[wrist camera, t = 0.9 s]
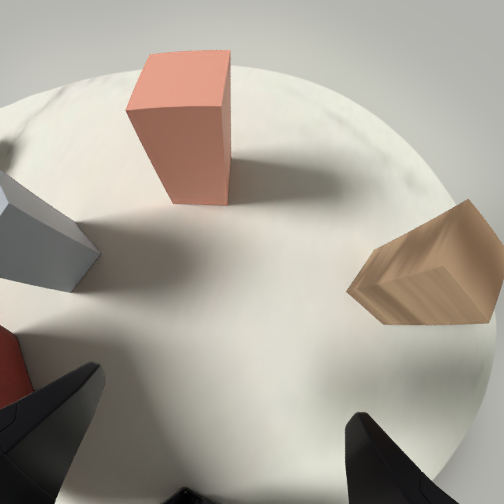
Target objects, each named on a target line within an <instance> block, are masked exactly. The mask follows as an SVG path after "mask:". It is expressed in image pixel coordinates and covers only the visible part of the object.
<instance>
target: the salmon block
mask: <svg viewBox="0 0 504 504" xmlns="http://www.w3.org/2000/svg"><path fill="white" fill-rule="evenodd" d="M125 111H126V113H127V115H128V117H129V119H130V121H131V123H132V125H133V127H134V129H135V131H136V133H137V135H138V137H139V139H140V141H141V143H142V145H143V147H144V149H145V151H146V153H147V155H148V157H149V159H150V161H151V163H152V165H153V167H154V169H155V171H156V173H157V175H158V176H159V178H160V180H161V182H162V184H163V186H164V188H165V190H166V192H167V194H168V195H169V197H170V199H171V201H172V203H173V204H203V205H227V204H228V191H229V179H230V167H231V93H230V50H203V51H182V52H170V53H169V52H168V53H159V54H150V55H149V57H148V59H147V61H146V63H145V66H144V68H143V70H142V72H141V74H140V76H139V79H138V81H137V83H136V86H135V88H134V90H133V93H132V95H131V98H130V100H129V103H128V105H127V108H126V110H125Z"/></svg>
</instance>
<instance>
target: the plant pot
mask: <svg viewBox="0 0 504 504" xmlns="http://www.w3.org/2000/svg"><path fill="white" fill-rule="evenodd" d="M33 392H34V391H33V388H32V385H31V383H30V380H29V377H28V374H27V371H26V368H25V364H24V361H23V358H22V354H21V351H20V347H19V343H18V340H17V338H16V336H15V335H14V334H13V333H11V332H10V331H9V330H7V329H6V328H4V327H2V326H1V325H0V409H2V408H4V407H6V406H8V405H10V404H12V403H14V402H16V401H17V402H18V400H20V399H21V398H23V397H25V396H27V395H29V394H31V393H33Z"/></svg>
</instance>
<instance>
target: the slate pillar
mask: <svg viewBox="0 0 504 504" xmlns="http://www.w3.org/2000/svg"><path fill="white" fill-rule="evenodd" d="M100 255H101V253H100V252H99V251H98V249H97V248H96V247H95V246H94V245H93V244H92V242H91V241H90V240H89V239H88V238H87V236H86V235H85V234H84V233H83V231H82V230H81V229H80V228H79V227H78V225H77V224H76V223H75V222H74V221H73V220H71V219H70V218H68V217H67V216H65V215H64V214H62V213H61V212H59V211H58V210H56V209H55V208H53V207H52V206H50V205H49V204H48V203H46V202H45V201H43V200H42V199H40V198H39V197H37V196H36V195H35V194H33V193H32V192H30V191H29V190H28V189H26V188H25V187H23V186H22V185H21V184H19V183H18V182H17V181H15V180H14V179H13V178H11V177H10V176H9V175H7V174H6V173H5V172H3V171H2V170H1V169H0V278H4V279H8V280H12V281H16V282H21V283H25V284H30V285H34V286H39V287H44V288H49V289H54V290H59V291H65V292H70V293H71V292H72V291H73V289H74V288H75V287H76V285H77V284H78V283H79V281H80V280H81V279H82V277H83V276H84V275H85V274H86V272H87V271H88V270H89V268H90V267H91V266H92V265H93V263H94V262H95V261H96V260H97V258H98V257H99V256H100Z"/></svg>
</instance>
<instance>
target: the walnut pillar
mask: <svg viewBox="0 0 504 504" xmlns="http://www.w3.org/2000/svg"><path fill="white" fill-rule="evenodd" d="M503 279H504V246H503V244H502V243H501V241H500V240H499V238H498V237H497V235H496V234H495V233H494V231H493V230H492V229H491V227H490V226H489V224H488V223H487V222H486V220H485V219H484V218H483V216H482V215H481V214H480V212H479V211H478V210H477V209H476V208H475V206H474V205H473V204H472V203H471V202H470V200H469V199H467V200H466V201H464V202H462V203H460V204H459V205H457V206H455V207H453V208H452V209H450V210H448V211H446V212H445V213H443V214H441V215H439V216H437V217H436V218H434V219H432V220H430V221H428V222H427V223H425V224H423V225H421V226H419V227H417V228H415V229H414V230H412V231H410V232H408V233H406V234H404V235H402V236H400V237H399V238H397V239H395V240H393V241H391V242H389V243H387V244H385V245H383V246H381V247H379V248H377V249H375V250H374V251H373V253H372V254H371V256H370V257H369V259H368V260H367V262H366V263H365V265H364V266H363V268H362V269H361V271H360V272H359V274H358V275H357V277H356V278H355V279H354V281H353V282H352V284H351V285H350V287H349V288H348V289H347V291H346V292H347V293H348V294H349V295H351V296H352V297H353V298H354V299H355V300H356V301H357V302H359V303H360V304H361V305H362V306H363V307H364V308H365V309H366V310H368V311H369V312H370V313H371V314H372V315H373V316H374V317H375V318H376V319H378V320H379V321H380V322H381V323H382V324H384V325H456V324H482V323H489V321H490V319H491V316H492V313H493V311H494V308H495V305H496V302H497V299H498V296H499V292H500V289H501V286H502V283H503Z"/></svg>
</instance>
